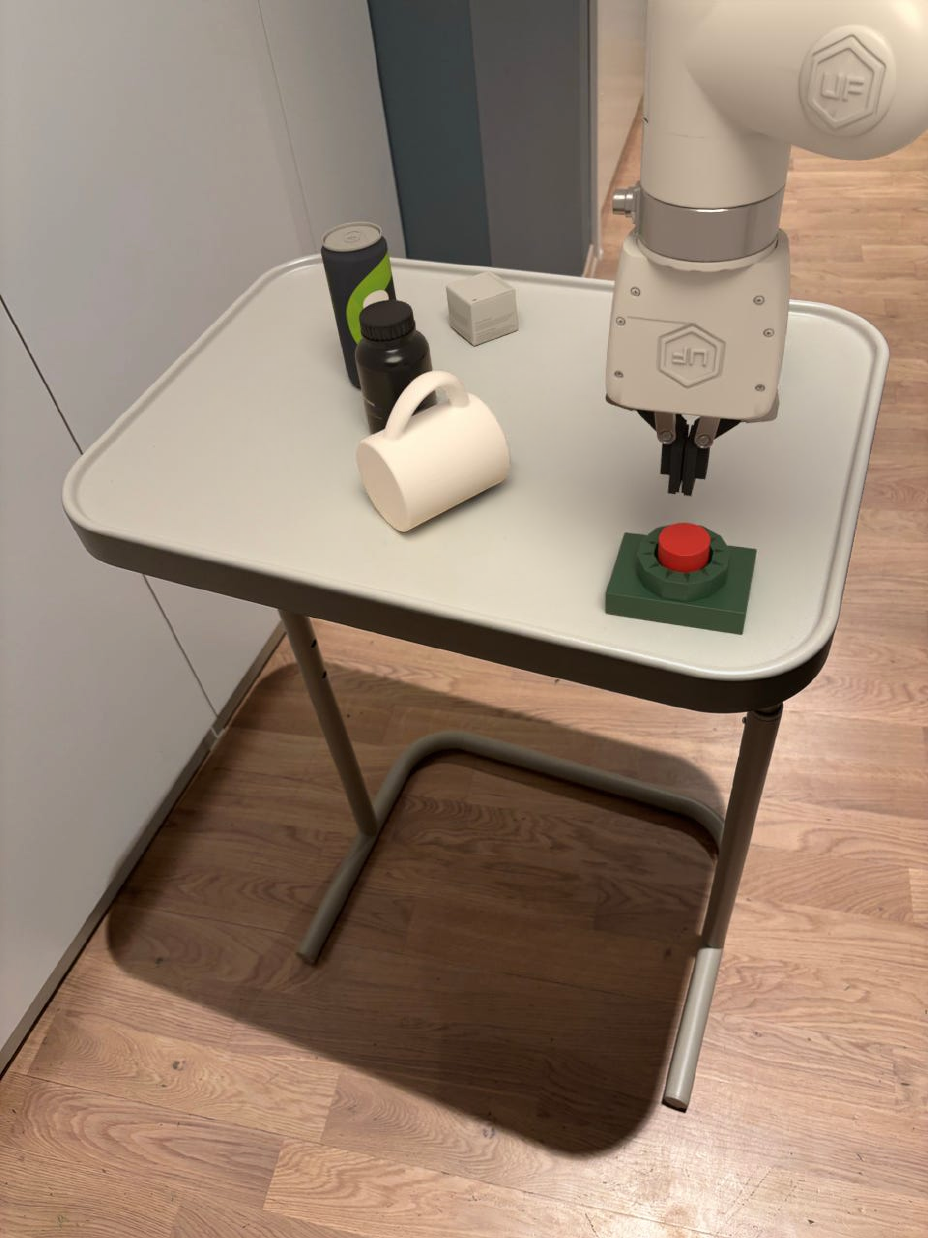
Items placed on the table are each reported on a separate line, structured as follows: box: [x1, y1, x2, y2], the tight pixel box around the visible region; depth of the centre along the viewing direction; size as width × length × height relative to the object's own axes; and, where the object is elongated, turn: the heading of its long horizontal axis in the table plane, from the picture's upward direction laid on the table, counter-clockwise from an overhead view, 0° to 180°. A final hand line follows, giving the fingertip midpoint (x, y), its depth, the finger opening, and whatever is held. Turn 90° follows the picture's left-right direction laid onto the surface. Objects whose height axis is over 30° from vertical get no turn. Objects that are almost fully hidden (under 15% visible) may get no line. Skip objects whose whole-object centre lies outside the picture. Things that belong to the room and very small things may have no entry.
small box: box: [445, 270, 519, 347], centre depth 100 cm, size 6×6×5 cm
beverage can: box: [320, 221, 397, 389], centre depth 92 cm, size 6×6×15 cm
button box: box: [604, 524, 758, 635], centre depth 70 cm, size 10×7×4 cm
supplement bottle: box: [355, 299, 438, 435], centre depth 86 cm, size 7×7×12 cm
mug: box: [355, 370, 511, 533], centre depth 78 cm, size 8×10×12 cm
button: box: [658, 522, 710, 573], centre depth 68 cm, size 4×4×2 cm
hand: (682, 482), depth 64 cm, fingers closed
